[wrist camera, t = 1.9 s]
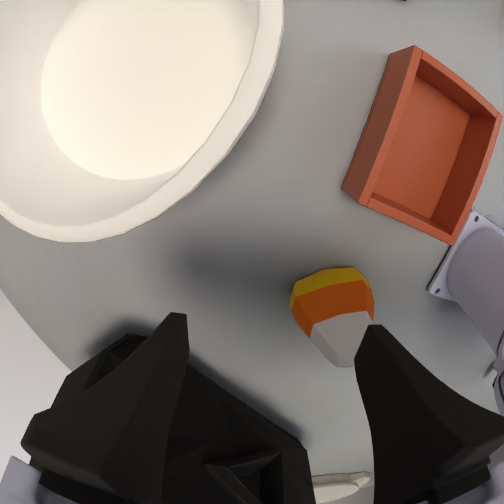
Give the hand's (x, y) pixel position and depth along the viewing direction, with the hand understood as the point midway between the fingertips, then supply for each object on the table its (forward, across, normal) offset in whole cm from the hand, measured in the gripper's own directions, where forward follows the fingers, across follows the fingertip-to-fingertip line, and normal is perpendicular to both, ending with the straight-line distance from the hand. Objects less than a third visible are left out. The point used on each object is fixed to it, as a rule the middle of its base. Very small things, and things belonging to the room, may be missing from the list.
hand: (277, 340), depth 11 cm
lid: (+10, -19, +55) cm, 59 cm away
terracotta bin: (+10, -9, -8) cm, 16 cm away
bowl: (+10, +10, -11) cm, 18 cm away
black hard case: (+10, +3, +21) cm, 23 cm away
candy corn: (+10, -5, +3) cm, 11 cm away
